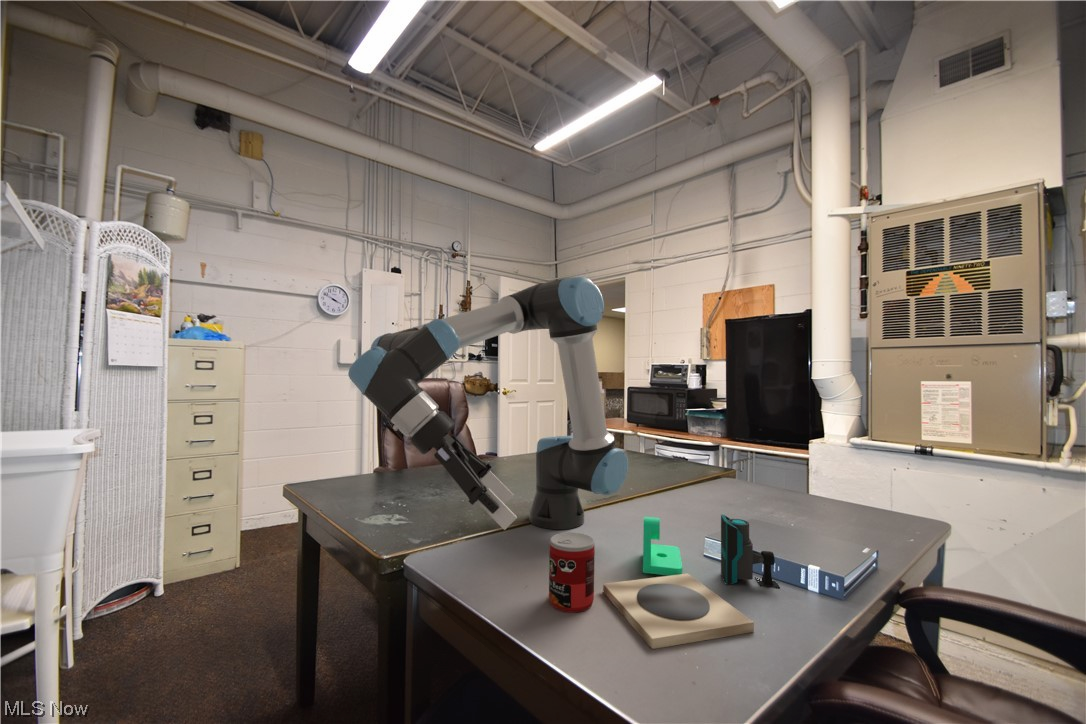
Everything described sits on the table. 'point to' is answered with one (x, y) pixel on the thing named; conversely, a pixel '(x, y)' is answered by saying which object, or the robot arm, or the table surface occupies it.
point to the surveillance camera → (742, 554)
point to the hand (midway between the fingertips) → (509, 510)
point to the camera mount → (659, 552)
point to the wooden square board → (675, 610)
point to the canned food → (571, 571)
